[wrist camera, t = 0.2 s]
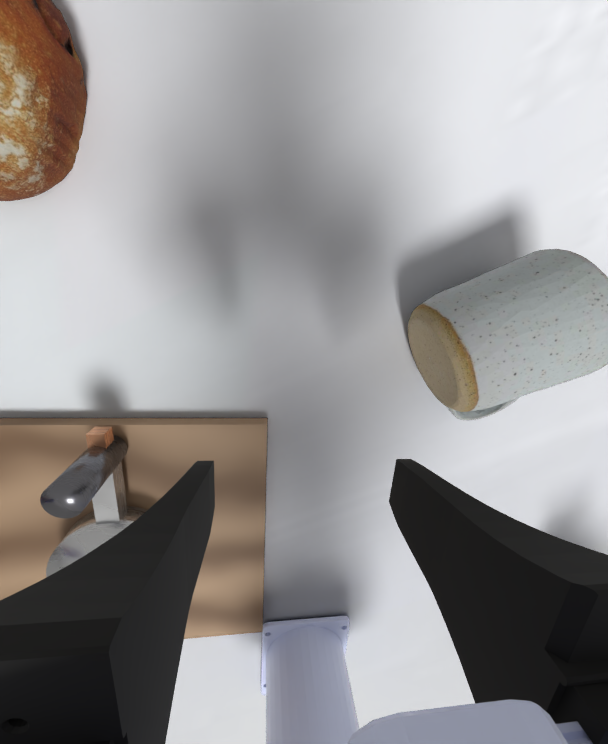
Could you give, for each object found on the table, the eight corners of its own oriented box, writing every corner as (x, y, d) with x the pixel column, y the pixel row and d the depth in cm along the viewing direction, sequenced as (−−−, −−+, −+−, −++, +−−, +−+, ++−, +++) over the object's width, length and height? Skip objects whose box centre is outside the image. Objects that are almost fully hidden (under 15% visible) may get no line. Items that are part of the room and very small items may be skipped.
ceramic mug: (388, 300, 21) (455, 318, 13) (502, 250, 20) (632, 240, 13) (428, 427, 24) (498, 496, 17) (525, 385, 24) (637, 436, 17)
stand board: (262, 619, 28) (262, 665, 25) (-25, 643, 25) (-69, 699, 22) (267, 418, 22) (267, 443, 19) (-108, 418, 19) (-185, 447, 16)
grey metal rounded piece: (186, 588, 24) (166, 665, 19) (75, 596, 23) (25, 679, 18) (173, 422, 20) (145, 468, 15) (37, 422, 19) (-39, 472, 14)
